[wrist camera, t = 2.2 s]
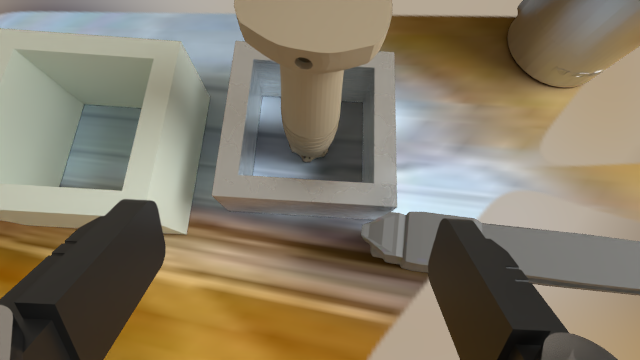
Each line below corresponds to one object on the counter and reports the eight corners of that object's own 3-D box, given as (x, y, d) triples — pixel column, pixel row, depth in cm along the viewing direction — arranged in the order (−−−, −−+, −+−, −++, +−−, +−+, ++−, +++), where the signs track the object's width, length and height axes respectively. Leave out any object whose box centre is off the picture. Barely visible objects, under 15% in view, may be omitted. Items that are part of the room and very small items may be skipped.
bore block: (247, 79, 29) (235, 40, 24) (379, 89, 29) (394, 52, 25) (229, 211, 26) (211, 195, 21) (380, 220, 26) (396, 206, 21)
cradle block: (71, 87, 28) (-2, 28, 21) (210, 97, 28) (180, 41, 22) (27, 225, 25) (-77, 205, 18) (186, 234, 25) (142, 218, 18)
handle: (343, 179, 27) (386, 64, 12) (266, 165, 27) (221, 36, 12) (351, 126, 28) (397, -31, 14) (278, 114, 28) (249, -56, 14)
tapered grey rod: (392, 242, 34) (361, 205, 21) (716, 276, 25) (1023, 249, 12) (389, 273, 33) (355, 255, 20) (724, 320, 24) (1069, 344, 11)
